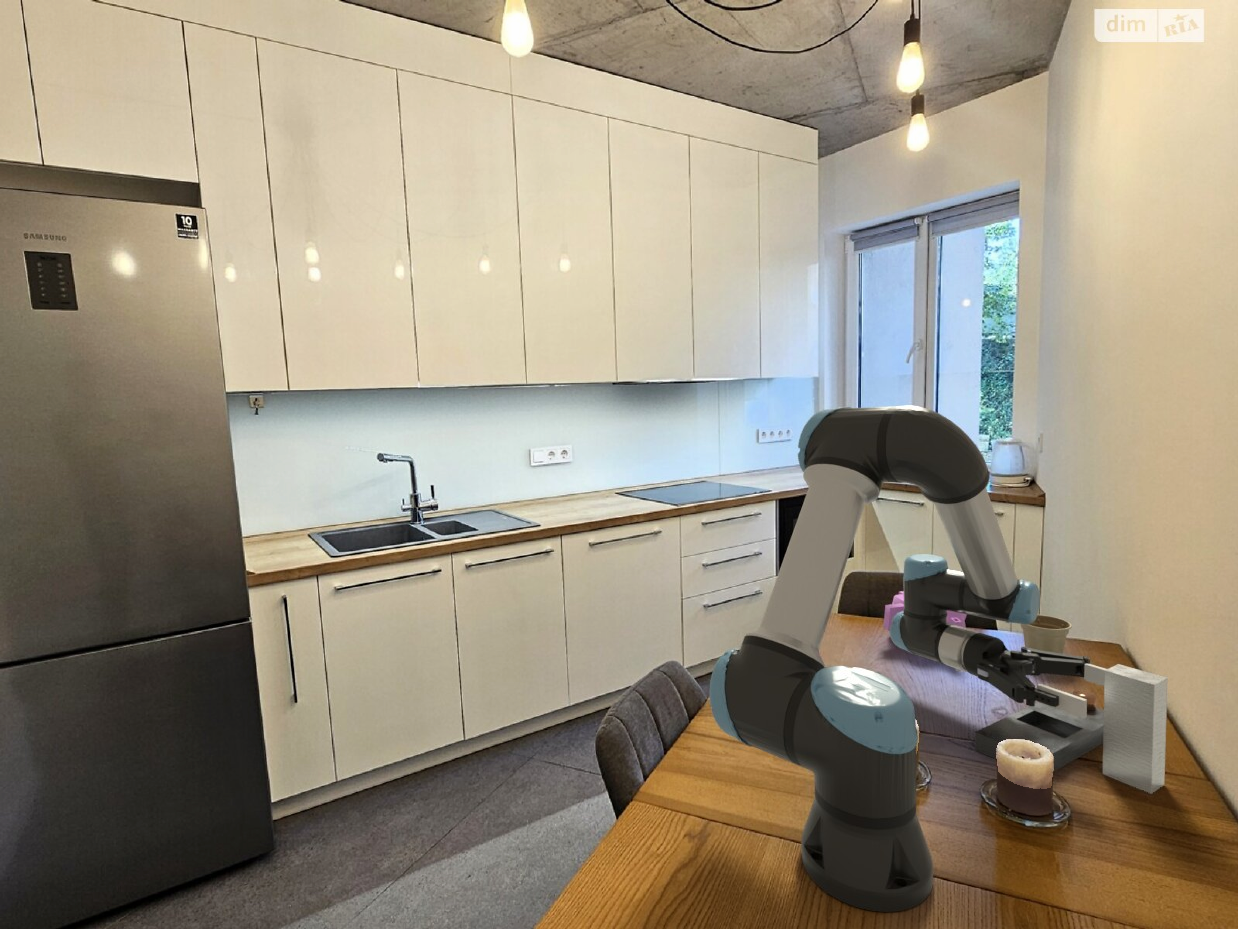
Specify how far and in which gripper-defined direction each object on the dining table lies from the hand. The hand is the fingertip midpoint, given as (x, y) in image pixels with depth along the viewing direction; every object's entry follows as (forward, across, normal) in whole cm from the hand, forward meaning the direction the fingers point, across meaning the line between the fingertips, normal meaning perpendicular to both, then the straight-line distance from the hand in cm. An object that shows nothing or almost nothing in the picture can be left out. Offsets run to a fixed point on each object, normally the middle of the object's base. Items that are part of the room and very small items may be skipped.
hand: (1110, 697), depth 96 cm
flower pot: (-27, -33, -11) cm, 44 cm away
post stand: (-9, -1, -11) cm, 14 cm away
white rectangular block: (+3, 0, -11) cm, 12 cm away
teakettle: (-46, -23, -12) cm, 53 cm away
